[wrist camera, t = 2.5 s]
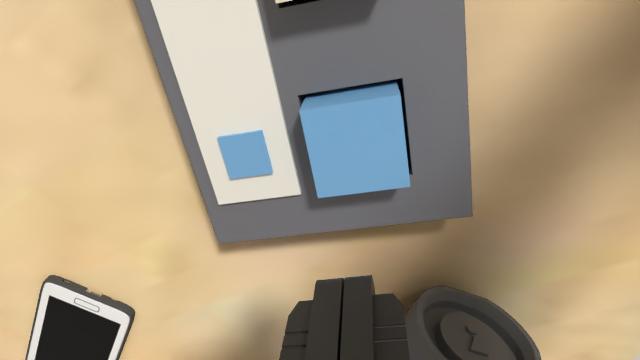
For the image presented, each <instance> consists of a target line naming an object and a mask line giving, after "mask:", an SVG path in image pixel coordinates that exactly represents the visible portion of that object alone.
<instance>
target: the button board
mask: <svg viewBox="0 0 640 360" xmlns="http://www.w3.org/2000/svg"><path fill="white" fill-rule="evenodd" d="M134 1H135V4H136V7H137V10H138V13H139V16H140V19H141V21H142V24H143V27H144V30H145V33H146V36H147V39H148V42H149V44H150V47H151V50H152V53H153V56H154V59H155V62H156V64H157V67H158V70H159V73H160V76H161V79H162V82H163V85H164V87H165V90H166V93H167V96H168V99H169V102H170V105H171V108H172V110H173V113H174V116H175V119H176V122H177V125H178V128H179V130H180V133H181V136H182V139H183V142H184V145H185V148H186V151H187V153H188V156H189V159H190V162H191V165H192V168H193V171H194V174H195V176H196V179H197V182H198V185H199V188H200V191H201V194H202V196H203V199H204V202H205V205H206V208H207V211H208V214H209V217H210V219H211V222H212V225H213V228H214V231H215V234H216V237H217V240H218V242H219V244H222V243H232V242H241V241H250V240H259V239H268V238H277V237H286V236H296V235H305V234H314V233H323V232H332V231H341V230H351V229H360V228H369V227H378V226H387V225H396V224H406V223H415V222H424V221H433V220H442V219H451V218H461V217H470V216H473V215H472V189H471V162H470V136H469V110H468V84H467V58H466V31H465V5H464V0H310V1H305V2H300V3H295V4H290V5H289V4H288V1H286V2H282V3H277V4H276V2H275V0H134ZM394 79H400V87H401V97H402V106H403V115H404V125H405V134H406V143H407V153H408V155H407V159H408V168H409V178H410V187H405V188H397V189H389V190H381V191H373V192H365V193H356V194H348V195H340V196H332V197H324V198H318V196H317V191H316V187H315V182H314V178H313V173H312V168H311V164H310V159H309V154H308V150H307V145H306V141H305V136H304V131H303V127H302V122H301V117H300V113H299V110H300V108H301V106H302V103H303V101H304V99H305V97H306V95H307V94H309V93H315V92H321V91H327V90H333V89H339V88H345V87H351V86H358V85H364V84H370V83H376V82H382V81H388V80H394Z"/></svg>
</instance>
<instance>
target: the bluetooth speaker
mask: <svg viewBox="0 0 640 360" xmlns="http://www.w3.org/2000/svg"><path fill="white" fill-rule="evenodd" d="M405 323H406V331H407V338H408V346H409V353H410V360H541V356H540V353H539V350H538V348H537V346H536V345H535V343H534V341H533V340H532V338H531V337H530V336H529V334H528V333H527V332H526V331H525V330H524V329H523V327H522V326H521V325H520V324H519V323H518V322H517V321H516V320H515V319H514V318H513V317H511V316H510V315H509V314H508V313H507V312H505V311H504V310H503V309H501V308H500V307H499V306H497V305H496V304H494V303H492V302H491V301H489V300H487V299H485V298H482V297H479V296H476V295H473V294H470V293H467V292H464V291H461V290H457V289H454V288H450V287H446V286H437V287H433V288H430V289H428V290H426V291H425V292H424V293H422V295H421V296H420V297H419V298H418V299H417V301H416V302H415V303H414V304H413V306H412V307H411V308H410V310H409V311H408V312H407V314H406V315H405Z"/></svg>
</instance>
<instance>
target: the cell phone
mask: <svg viewBox="0 0 640 360" xmlns="http://www.w3.org/2000/svg"><path fill="white" fill-rule="evenodd" d="M63 280H65V281H68V282H70V283H71V284H68V283H66V282H64V281H63ZM134 316H135V311H134V309H133V308H132V307H130V306H128V305H127V304H124V303H122V302H120V301H115V300H112V299H111V298H110V297H108V296H105V295H103V294H102V296H100V295H97V294H95V293H93V292H90V291H88V290H87V288H86V287H84V286H81V285H79V284H76V283H74V282H72V281H69V280H67V279H64V278H62V277H59V276H55V275H50V276H49V277H48V278H47V279H46V280H45V281H44V282H43V284H42V287H41V290H40V295H39V299H38V304H37V308H36V313H35V318H34V322H33V327H32V331H31V336H30V341H29V345H28V350H27V354H26V359H25V360H119V357H120V355H121V352H122V349H123V347H124V344H125V342H126V339H127V336H128V334H129V331H130V328H131V326H132V323H133V320H134ZM30 344H31V345H30Z"/></svg>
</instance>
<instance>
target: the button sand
mask: <svg viewBox="0 0 640 360" xmlns="http://www.w3.org/2000/svg"><path fill="white" fill-rule="evenodd" d="M286 1H291V0H275V2H276V4H277V3H282V2H286Z"/></svg>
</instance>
